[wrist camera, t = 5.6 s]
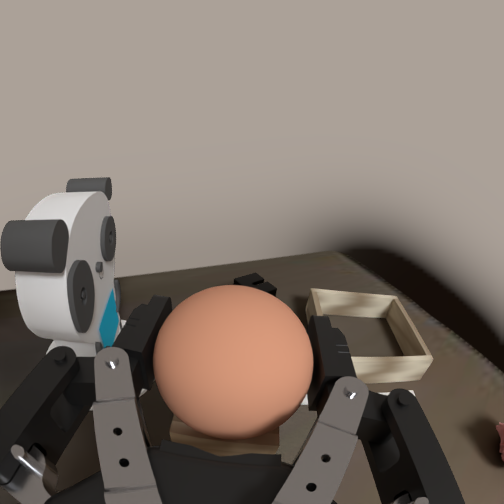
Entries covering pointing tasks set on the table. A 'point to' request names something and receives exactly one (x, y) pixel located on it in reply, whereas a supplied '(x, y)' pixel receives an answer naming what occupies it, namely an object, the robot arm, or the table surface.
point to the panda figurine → (68, 268)
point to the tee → (223, 441)
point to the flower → (503, 434)
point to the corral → (399, 322)
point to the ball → (233, 362)
